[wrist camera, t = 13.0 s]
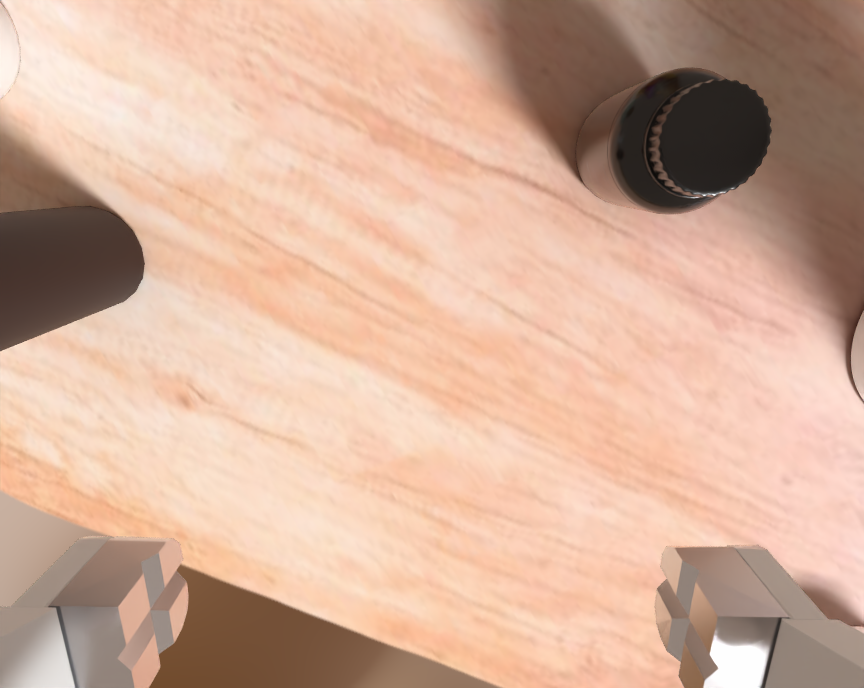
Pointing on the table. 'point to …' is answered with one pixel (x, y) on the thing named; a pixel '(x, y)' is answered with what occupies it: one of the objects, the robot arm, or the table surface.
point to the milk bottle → (8, 52)
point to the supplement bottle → (673, 141)
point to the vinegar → (62, 268)
